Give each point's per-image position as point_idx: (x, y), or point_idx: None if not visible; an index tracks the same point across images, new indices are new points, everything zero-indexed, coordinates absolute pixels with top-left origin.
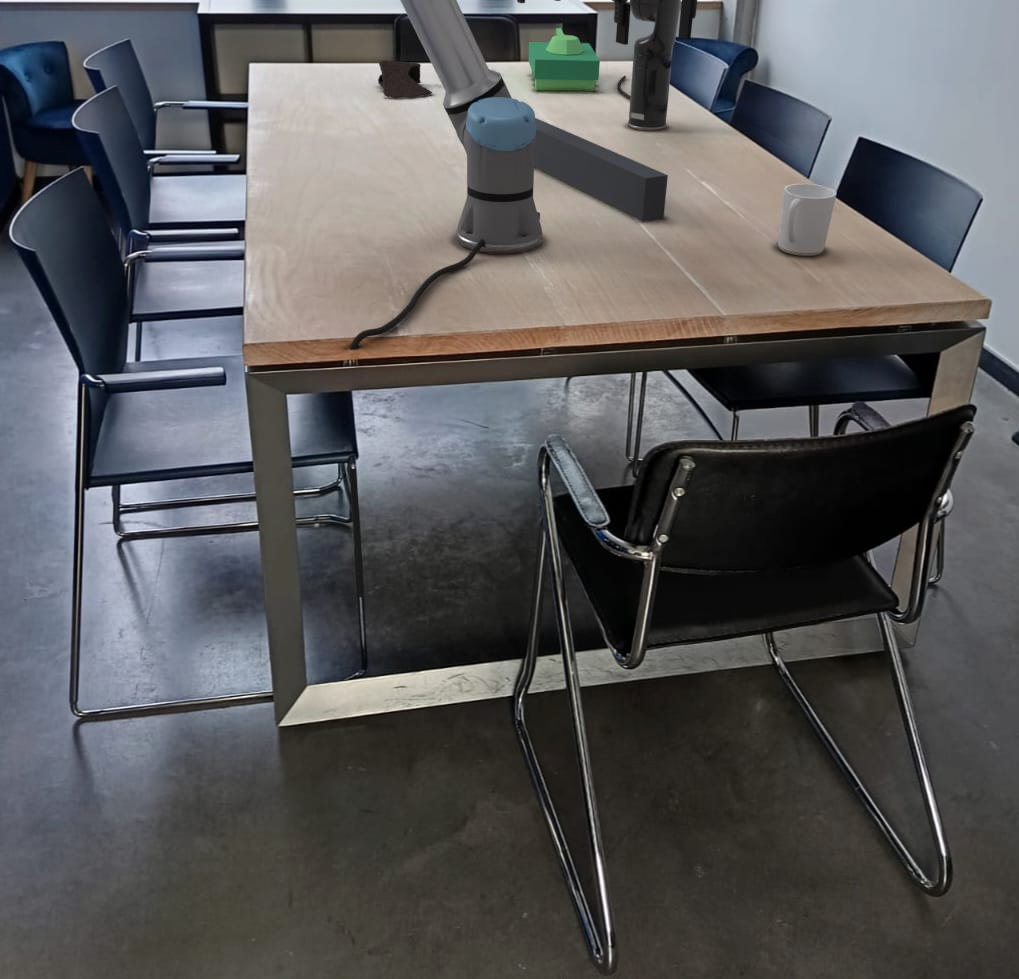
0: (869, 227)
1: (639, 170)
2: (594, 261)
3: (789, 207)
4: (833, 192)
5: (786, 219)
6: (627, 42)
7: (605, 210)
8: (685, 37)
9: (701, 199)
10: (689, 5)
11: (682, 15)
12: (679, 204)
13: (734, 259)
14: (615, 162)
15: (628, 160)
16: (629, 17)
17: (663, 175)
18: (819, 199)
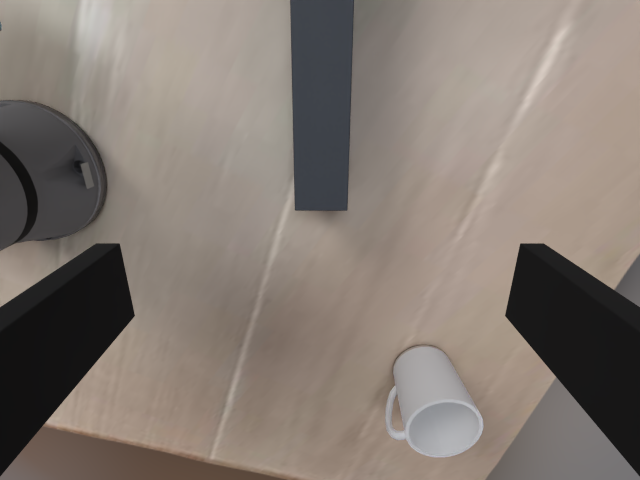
0: None
1: (314, 159)
2: (147, 298)
3: (388, 429)
4: (470, 442)
5: (399, 398)
6: (126, 322)
7: (274, 108)
8: (511, 307)
9: (472, 129)
10: (638, 454)
11: (594, 330)
12: (416, 137)
13: (321, 359)
14: (302, 79)
15: (339, 77)
16: (45, 419)
17: (337, 209)
18: (425, 454)
